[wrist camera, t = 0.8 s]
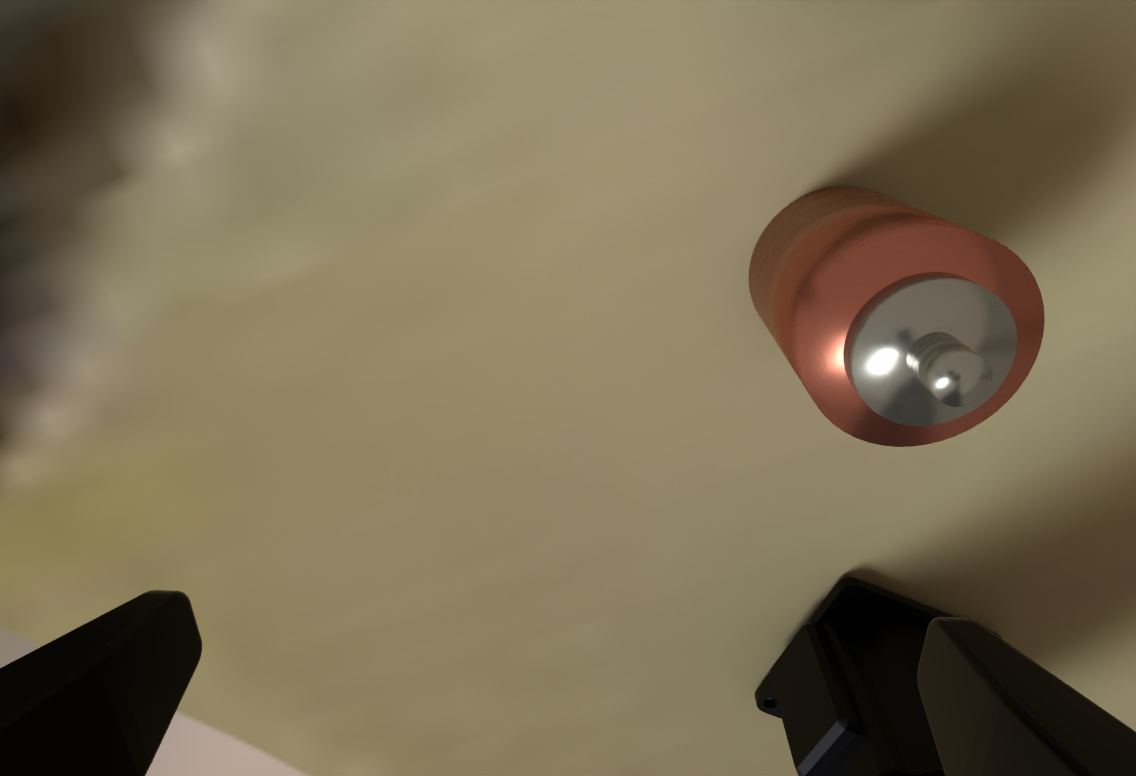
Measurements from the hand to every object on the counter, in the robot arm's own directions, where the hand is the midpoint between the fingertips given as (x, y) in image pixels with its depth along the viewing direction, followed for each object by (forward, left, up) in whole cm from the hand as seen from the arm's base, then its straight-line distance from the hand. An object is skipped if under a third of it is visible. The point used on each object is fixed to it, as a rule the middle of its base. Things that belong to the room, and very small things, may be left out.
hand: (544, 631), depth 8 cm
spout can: (-6, -4, -13) cm, 15 cm away
